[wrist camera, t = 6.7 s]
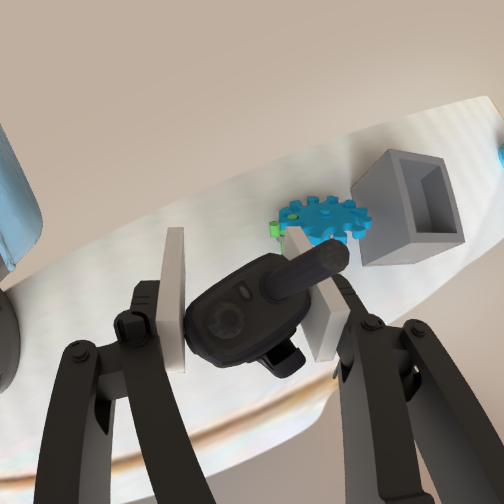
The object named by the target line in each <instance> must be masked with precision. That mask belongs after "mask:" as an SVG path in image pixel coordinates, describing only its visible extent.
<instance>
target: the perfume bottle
mask: <svg viewBox="0 0 504 504" xmlns="http://www.w3.org/2000/svg"><path fill="white" fill-rule="evenodd" d="M498 155H499V159H500V162H501V164H502V166H503V168H504V144H503V145H502V148H501V149H499V152H498Z"/></svg>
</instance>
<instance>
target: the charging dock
mask: <svg viewBox="0 0 504 504" xmlns="http://www.w3.org/2000/svg"><path fill="white" fill-rule="evenodd" d="M350 190H351V195H352V200H353V201H354V202H356V208H359V207H366V208H367V210H368V215H367V216H368V217H372V226H371V227H370V228H369V229H366V233H365V237H363V238H360V239H359V244H360V251H361V258H362V266H380V265H399V264H415V263H417V262H420V261H422V260H425V259H427V258H429V257H432V256H434V255H437V254H439V253H442V252H444V251H446V250H449V249H451V248H453V247H456V246H458V245H460V244H463V243H465V239H464V234H463V229H462V225H461V221H460V216H459V212H458V208H457V204H456V200H455V197H454V193H453V189H452V186H451V182H450V179H449V176H448V172H447V169H446V166H445V163H444V160H443V158H438V157H433V156H427V155H422V154H416V153H411V152H405V151H398V150H392V149H388V150H387V151H386V152H385V153H384V155H383V156H382V157H381V158H380V159H379V160H378V161H377V162H376V163H375V164H374V165H373V166H372V167H371V168H370V169H369V170H368V171H367V172H366V173H365V174H364V175H363V176H362V177H361V179H360V180H359V181H358V182H357V183H356V184H355V185H354V186H353V187H352V188H351V189H350ZM357 225H359V224H357Z"/></svg>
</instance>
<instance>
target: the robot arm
mask: <svg viewBox="0 0 504 504" xmlns="http://www.w3.org/2000/svg"><path fill="white" fill-rule="evenodd" d="M42 226H43V221H42V215H41V212H40V209H39V206H38V204H37V201H36V199H35V196H34V194H33V192H32V190H31V188H30V185H29V183H28V181H27V179H26V177H25V175H24V173H23V170H22V168H21V166H20V164H19V162H18V160H17V158H16V156H15V154H14V151H13V149H12V147H11V145H10V143H9V141H8V139H7V137H6V135H5V132H4V131H3V129H2V127H1V124H0V282H1V281H2V280H3V279H4V278H5V277H6V275H8V274H9V273H10V272H13V271H14V269H15V268H16V264H17V263H18V261H19V260H20V259H21V258H22V257H23V256H24V255H25V254H26V253H27V252H28V251H29V250H30V249H31V248H32V247H33V246H34V245H35V244H36V242H37V241H38V239H39V238H40V235H41V232H42ZM311 248H313V246H312V245H311V243H310V241H309V240H308V238H307V237H306V235H305V233H304V232H303V230H302V229H301V227H300V226H286V230H285V237H284V245H283V252H282V255H283V256H284V257H286V258H287V259H288V260H289V261H290V260H292V259H294V258H295V257H297V256H299V255H301V254H302V253H304V252H306V251H308V250H310V249H311ZM308 290H309V298H310V302H311V306H310V309H309V311H308V313H307V314H306V316H305V318H304V319H303V320H302V321H301V322H300V323H301V326H302V328H303V331H304V334H305V336H306V339H307V341H308V344H309V347H310V349H311V352H312V354H313V357H314V360H315V362H324V361H331V360H333V359H334V356H335V353H336V351H337V353H338V355H339V357H340V359H339V362H338V364H337V367H336V369H335V372H334V374H333V379H335V378H336V376H337V374H338V380H339V389H340V402H341V415H342V429H343V445H344V463H345V492H346V504H435V502H434V498H433V497H432V496H431V494H428V493H426V492H424V490H423V489H422V486H421V479H420V473H419V466H418V460H417V454H416V448H415V443H414V440H415V442H416V444H417V446H418V449H419V451H420V453H421V455H422V458H423V460H424V462H425V464H426V467H427V469H428V471H429V474H430V476H431V479H432V481H433V483H434V486H435V488H436V490H437V493H438V495H439V498H440V500H441V503H442V504H504V445H503V443H502V442H501V440H500V438H499V436H498V434H497V432H496V431H495V429H494V427H493V425H492V423H491V422H490V420H489V418H488V416H487V415H486V413H485V411H484V410H483V408H482V406H481V405H480V403H479V401H478V399H477V398H476V396H475V395H474V393H473V391H472V390H471V388H470V386H469V385H468V383H467V382H466V380H465V378H464V377H463V376H462V374H461V372H460V371H459V369H458V368H457V366H456V365H455V363H454V362H453V360H452V359H451V357H450V355H449V354H448V353H447V351H446V350H445V348H444V347H443V345H442V344H441V342H440V341H439V339H438V338H437V337H436V335H435V334H434V332H433V331H432V329H431V328H430V327H429V326H428V325H427V324H426V323H424V322H423V321H420V320H417V319H410V320H407V321H406V322H405V323H404V325H403V327H402V328H399V327H391V326H386V325H385V323H384V321H383V320H382V319H380V318H379V317H378V316H375V315H373V314H369V313H368V311H367V310H366V308H365V307H364V305H363V303H362V302H361V300H360V299H359V297H358V295H357V294H356V292H355V291H354V289H352V286H351V284H350V283H349V281H348V280H347V279H346V278H344V277H343V276H342V275H341V274H335V275H333V276H331V277H329V278H327V279H326V280H324V281H322V282H320V283H318V284H316V285H314V286H312V287H310V288H308ZM184 320H185V254H184V230H183V227H178V228H168V231H167V238H166V244H165V251H164V257H163V264H162V272H161V279H160V280H148V281H140V282H139V283H138V284H137V286H136V287H135V288H134V292H133V298H132V301H131V306H130V309H129V310H126V311H123V312H122V313H120V314H119V315H117V317H116V318H115V320H114V325H113V326H114V329H115V333H116V336H117V339H118V341H116V342H114V343H112V344H109V345H105V346H101V347H96V346H95V344H94V343H92V342H91V341H87V340H77V341H75V342H72V343H70V344H69V345H68V346H67V347H66V348H65V350H64V352H63V354H62V358H61V361H60V365H59V368H58V372H57V375H56V379H55V383H54V387H53V391H52V395H51V399H50V403H49V408H48V412H47V417H46V421H45V426H44V431H43V437H42V442H41V448H40V454H39V460H38V467H37V474H36V482H35V491H34V502H33V504H110V481H111V454H112V438H113V424H114V413H115V403H116V399H119V398H123V397H127V396H128V398H129V403H130V407H131V412H132V416H133V420H134V425H135V429H136V433H137V437H138V440H139V444H140V448H141V452H142V455H143V459H144V462H145V465H146V469H147V472H148V475H149V479H150V482H151V485H152V488H153V491H154V494H155V497H156V500H157V503H158V504H216V502H215V500H214V498H213V495H212V493H211V491H210V489H209V486H208V484H207V482H206V479H205V477H204V475H203V472H202V470H201V467H200V465H199V463H198V460H197V458H196V455H195V453H194V450H193V448H192V445H191V442H190V440H189V437H188V434H187V432H186V429H185V426H184V424H183V421H182V418H181V415H180V412H179V409H178V407H177V404H176V401H175V398H174V395H173V392H172V389H171V385H170V382H169V379H168V376H167V373H185V325H184ZM19 354H20V338H19V330H18V324H17V320H16V317H15V313H14V311H13V308H12V306H11V304H10V302H9V300H8V298H7V296H6V295H5V293H4V292H3V291H2V290H1V289H0V394H1V393H2V392H4V391H5V390H6V389H7V388H8V386H9V385H10V384H11V382H12V380H13V378H14V376H15V373H16V370H17V367H18V362H19ZM415 366H417V368H418V370H419V372H417V371H416V370H415V368H414V367H415Z"/></svg>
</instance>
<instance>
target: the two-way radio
mask: <svg viewBox="0 0 504 504" xmlns="http://www.w3.org/2000/svg"><path fill="white" fill-rule="evenodd" d="M348 263H349V251H348V248H347V246H346V245H345V244H344V243H343V242H341V241H340V240H336V239H329V240H326V241H324V242H322V243H320V244H318V245H317V246H315V247H313V248H311V249H310V250H308V251H306V252H304V253H302V254H301V255H299V256H297V257H295V258H294V259H292V260H290V261H289V260H288V259H287V258H286V257H284V256H283V255H278V254H274V253H268V254H265V255H263V256H261V257H259V258H257V259H255V260H253V261H251V262H249V263H247V264H246V265H244V266H243V267H241V268H239V269H238V270H236V271H235V272H233V273H231V274H230V275H228V276H227V277H225V278H224V279H222V280H221V281H219V282H218V283H216V284H214V285H213V286H212V287H210V288H209V289H208V290H206V291H205V292H204V293H202V294H201V295H200V296H199V297H197V298H196V299H195V300H194V301H193V302H191V304H190V305H189V306H188V308H187V309H186V312H185V320H184V325H185V340H186V342H187V345H188V347H189V348H190V350H191V351H192V352H193V353H194V354H197V355H199V356H200V357H201V358H203V359H205V360H207V361H208V362H210V363H212V364H213V365H214V366H216V367H218V368H227V367H232V366H237V365H240V364H243V363H245V362H247V363H251V362H254V361H257V362H259V363H261V364H262V365H263V366H265V367H266V368H267V369H268V370H269V371H270V372H271V373H272V374H273V375H274V376H276V377H278V378H281V379H282V378H286V377H289V376H290V375H292V374H293V373H295V372H296V371H297V370H298V369H300V368H301V367H302V366H303V365H304V364H305V363H306V358H305V356H304V355H303V353H302V352H301V350H300V349H299V348H296V347H295V346H294V345H293V343H292V342H291V340H290V338H291V337H292V336H293V335H294V333H295V332H296V330H297V328H296V327H297V326H298V325H299V324H300V322H301V321H302V320H303V319H304V318H305V316H306V314H307V313H308V311H309V309H310V306H311V302H310V298H309V290H308V288H310V287H312V286H314V285H316V284H318V283H320V282H322V281H324V280H326V279H327V278H329V277H331V276H333V275H335V274H337V273H339V272H341V271H343V270H344V269H345V268H346V266H347V265H348Z"/></svg>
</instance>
